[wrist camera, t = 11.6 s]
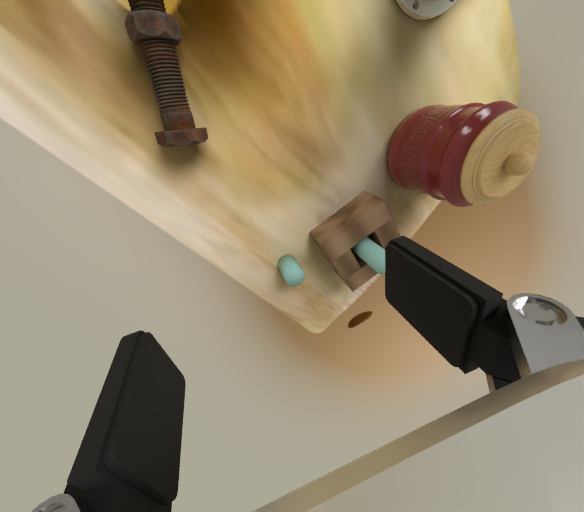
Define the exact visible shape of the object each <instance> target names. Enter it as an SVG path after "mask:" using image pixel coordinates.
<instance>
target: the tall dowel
mask: <svg viewBox="0 0 584 512" xmlns="http://www.w3.org/2000/svg"><path fill="white" fill-rule="evenodd" d="M351 250H352V251H353V252H355V253H356V254H357V255H358V256H359V257H360V258H361V259H363V260H364V261H365V262H366V263H367V264H368V265H369V266H371V267H372V268H373V269H374V270H375V271H376V272H377V273H379V274H385V250H384V249H383V248H382V247H380V246H379V245H377V244H376V243H375V242H373V241H372V240H370V239H369V238H368V237H365V238H364V239H363V240H361V241H360V242H359V243H357V244H356V245H355V246H353V247H352V248H351Z"/></svg>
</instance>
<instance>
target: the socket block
mask: <svg viewBox="0 0 584 512" xmlns="http://www.w3.org/2000/svg"><path fill="white" fill-rule="evenodd" d="M310 235H311V236H312V237H313V239H314V240H315V242H316V243H317V245H318V246H319V248H320V249H321V251H322V252H323V253H324V255H325V256H326V258H327V259H328V261H329V262H330V264H331V265H332V266H333V268H334V269H335V271H336V272H337V274H338V275H339V276H340V277H341V279H342V280H343V281H344V282H345V283H346V284H347V286H348V287H349V288H350V289H351V290H352V291H354V290H356V289H357V288H358V287H360V286H361V285H362V284H364V283H365V282H367V281H368V280H369V279H371V278H372V277H373V276H375V275H376V274H378V273H377V272H376V271H375V270H374V269H373V268H372V267H371V266H369V265H368V264H367V263H366V262H365V261H364V260H363V259H361V258H360V257H359V256H358V255H357V254H356V253H355V252H353V251H352V250H351V248H352V247H353V246H355V245H356V244H357V243H359V242H360V241H361V240H363V239H364V238H365V237H368V238H369V239H370V240H372V241H373V242H375V243H376V244H377V245H379V246H380V247H382V248H383V249H384V250H385V247H386V246H387V245H388V242H389V241H390V240H392V239H395V238H398V237H400V235H399V232H398V230H397V227H396V225H395V222H394V220H393V217H392V215H391V213H390V210H389V208H388V205H387V203H386V201H385V200H383V199H381V198H379V197H376V196H374V195H372V194H370V193H368V192H365V191H364V192H363V193H361V194H360V195H359V196H357V197H356V198H355V199H353V200H352V201H351V202H349V203H348V204H347V205H345V206H344V207H343V208H342V209H340V210H339V211H338V212H336V213H335V214H334V215H332V216H331V217H330V218H328V219H327V220H326V221H324V222H323V223H322V224H320V225H319V226H318V227H316V228H315V229H314V230H312V231H311V232H310Z"/></svg>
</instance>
